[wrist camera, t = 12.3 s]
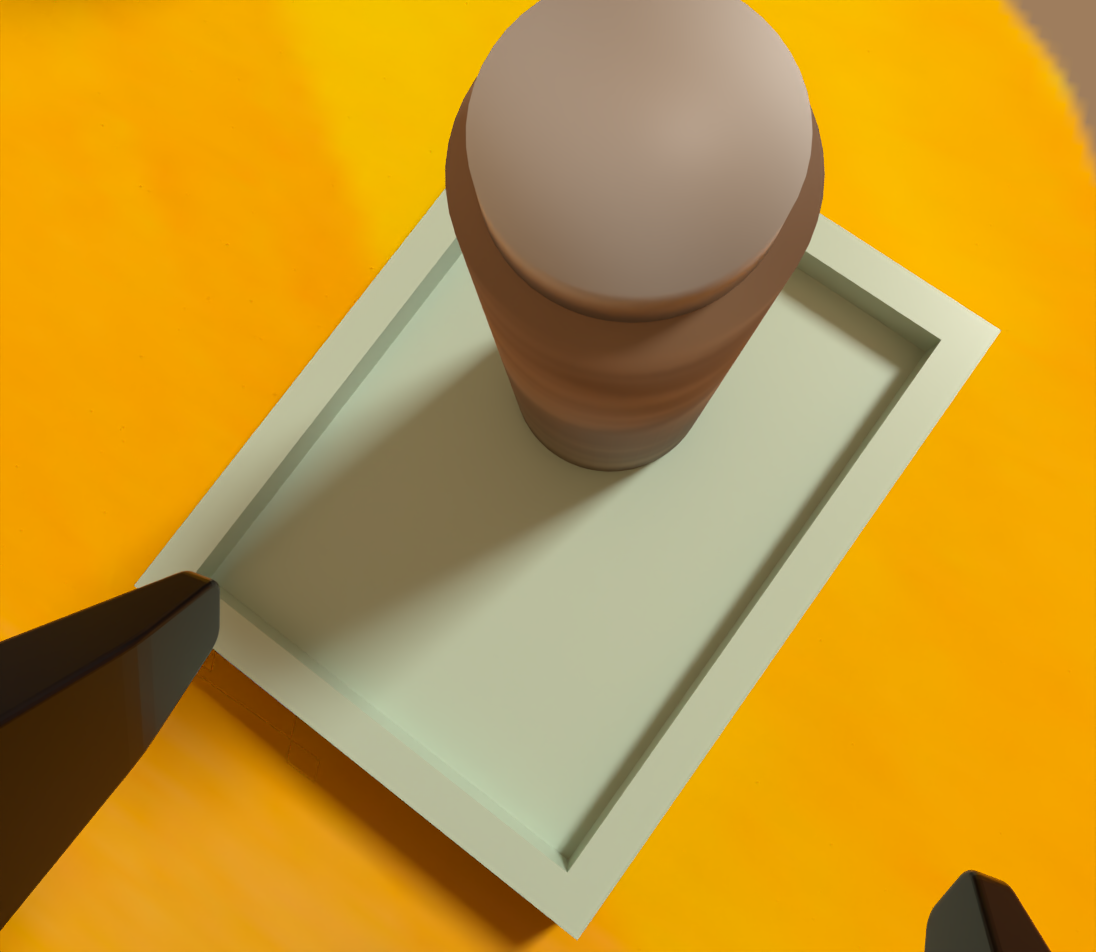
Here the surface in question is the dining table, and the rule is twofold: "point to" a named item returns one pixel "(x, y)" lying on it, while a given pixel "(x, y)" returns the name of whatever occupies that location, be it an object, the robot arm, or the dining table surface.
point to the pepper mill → (631, 210)
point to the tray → (556, 551)
